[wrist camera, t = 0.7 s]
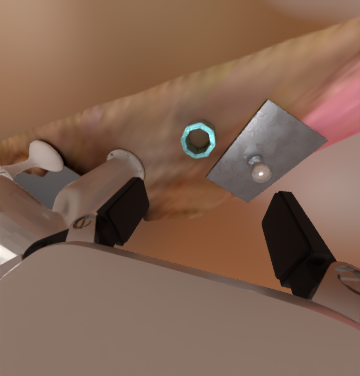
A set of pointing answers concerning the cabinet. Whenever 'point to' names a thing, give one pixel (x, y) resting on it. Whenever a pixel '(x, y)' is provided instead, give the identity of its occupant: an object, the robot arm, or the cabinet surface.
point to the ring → (192, 149)
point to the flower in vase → (36, 160)
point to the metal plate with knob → (264, 152)
